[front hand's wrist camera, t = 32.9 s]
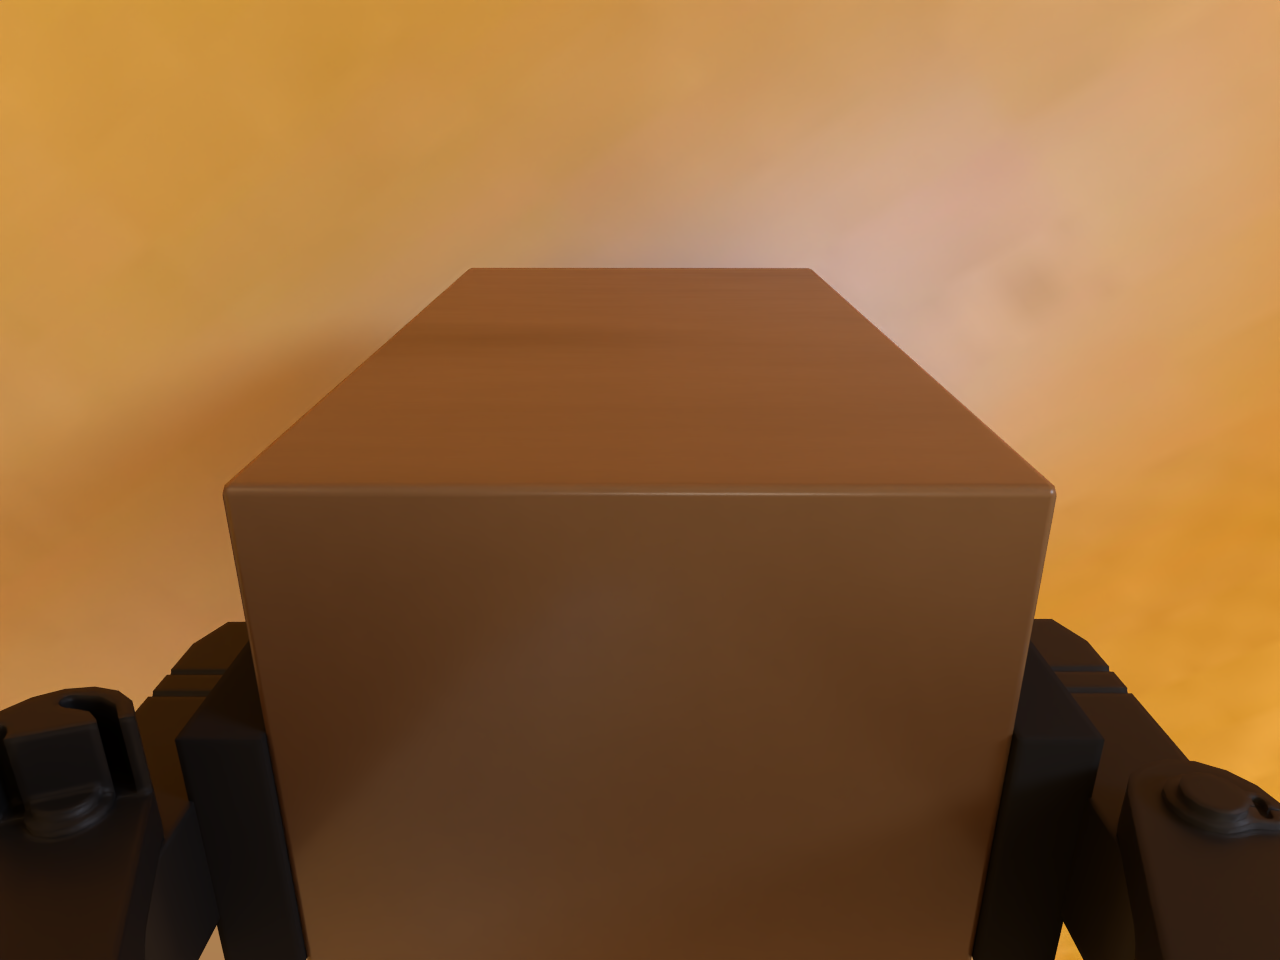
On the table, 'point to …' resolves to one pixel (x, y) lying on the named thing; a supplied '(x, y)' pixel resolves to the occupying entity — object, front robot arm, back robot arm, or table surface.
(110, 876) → the front robot arm
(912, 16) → the table surface
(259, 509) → the block
